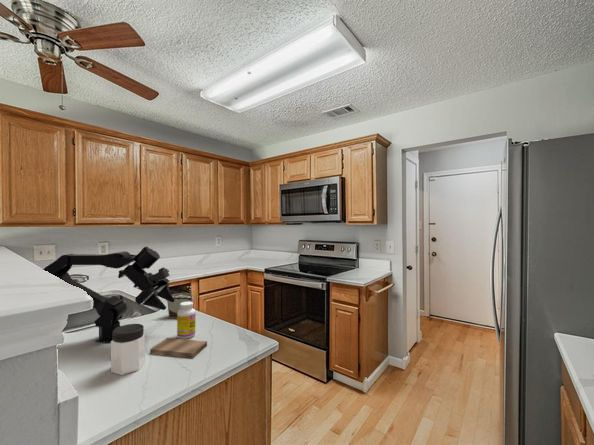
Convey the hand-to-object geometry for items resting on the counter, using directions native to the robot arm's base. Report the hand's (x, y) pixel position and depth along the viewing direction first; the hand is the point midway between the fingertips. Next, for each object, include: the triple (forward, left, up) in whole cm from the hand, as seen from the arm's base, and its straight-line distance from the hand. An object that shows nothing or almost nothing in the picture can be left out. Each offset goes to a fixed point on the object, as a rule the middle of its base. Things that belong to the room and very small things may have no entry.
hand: (169, 305), depth 106 cm
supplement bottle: (+6, +2, -12) cm, 14 cm away
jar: (+2, -22, -12) cm, 25 cm away
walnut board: (+10, -9, -12) cm, 18 cm away
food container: (-9, +22, -12) cm, 27 cm away
